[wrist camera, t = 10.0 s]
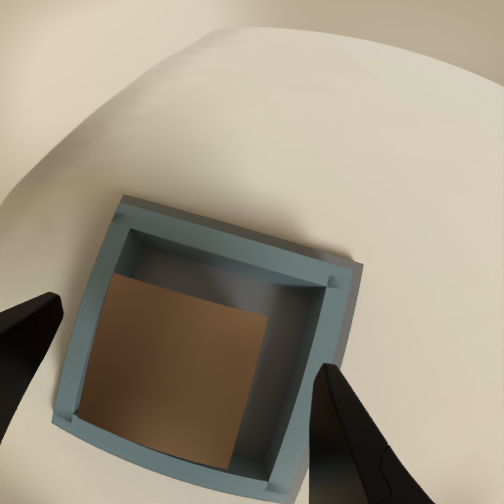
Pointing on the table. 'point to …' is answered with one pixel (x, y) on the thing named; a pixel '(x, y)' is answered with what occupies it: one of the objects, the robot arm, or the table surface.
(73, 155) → the table surface
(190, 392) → the brown wooden block
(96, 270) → the tray
